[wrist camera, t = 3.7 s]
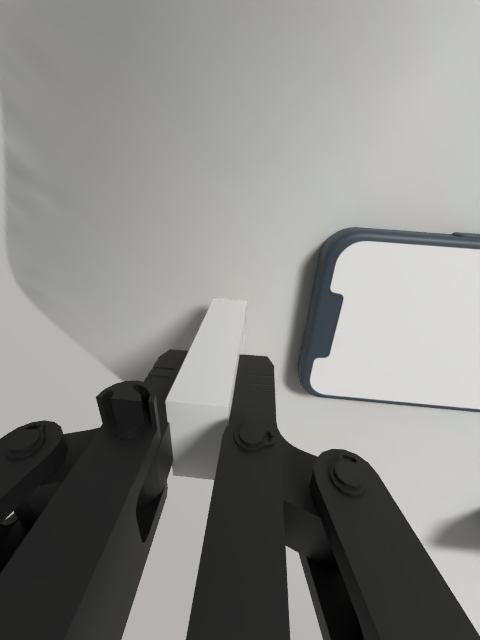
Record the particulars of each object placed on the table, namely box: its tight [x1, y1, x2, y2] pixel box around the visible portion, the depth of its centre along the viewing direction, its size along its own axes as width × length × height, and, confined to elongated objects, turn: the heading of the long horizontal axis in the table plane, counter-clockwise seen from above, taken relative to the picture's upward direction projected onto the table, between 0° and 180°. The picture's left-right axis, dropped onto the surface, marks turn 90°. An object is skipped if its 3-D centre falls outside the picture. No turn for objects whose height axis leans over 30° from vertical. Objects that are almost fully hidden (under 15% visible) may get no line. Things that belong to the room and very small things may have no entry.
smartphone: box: [298, 227, 480, 412], centre depth 13 cm, size 9×2×16 cm
